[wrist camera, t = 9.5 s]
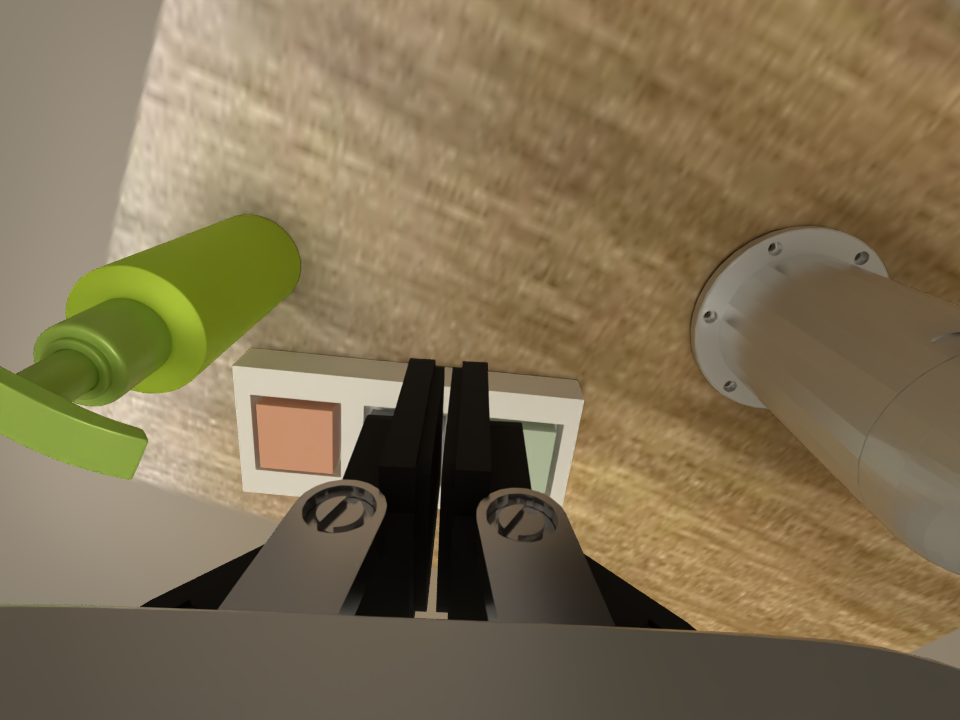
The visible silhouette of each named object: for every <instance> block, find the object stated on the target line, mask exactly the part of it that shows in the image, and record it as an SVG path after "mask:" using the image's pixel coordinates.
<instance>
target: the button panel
mask: <svg viewBox="0 0 960 720" xmlns="http://www.w3.org/2000/svg"><path fill="white" fill-rule="evenodd" d="M407 367H408V363H399V362H389V361H379V360H369V359H359V358H348V357H338V356H328V355H318V354H308V353H298V352H288V351H278V350H268V349H257V348H250V349H249V350H248V351H247V352H246V353H245V354H244V355H243V356H242V357H241V358H240V359H239V360H238V361H236V362H235V363H234V364H233V365H232V369H233V381H234V392H235V403H236V415H237V426H238V437H239V448H240V460H241V471H242V482H243V491H244V492H255V493H266V494H277V495H289V496H300V497H301V496H302V495H303V494H304V493H305V492H306V491H308V490H310V489H311V488H313V487H315V486H317V485H320V484H323V483H326V482H329V481H336V480H342V479H343V476H344V473H345V471H346V468H347V466H348V463H349V460H350V458H351V455H352V452H353V450H354V447H355V445H356V442H357V439H358V437H359V434H360V431H361V429H362V426H363V424H364V421H365V418H366V416H367V415H369V414H371V412H372V409H377V410H387V411H395V408H396V404H397V401H398V397H399V394H400V391H401V387H402V384H403V380H404V377H405V373H406V370H407ZM451 378H452V368H449V367H445V379H444V405H443V416H446V422H445V433H444V443H445V434H446V424H447V415H448V406H449V396H450V387H451ZM488 384H489V412H490V418H500V419H510V420H520V421H531V422H541V423H552V424H554V425H555V429H556V438H555V443H554V448H553V453H552V459H551V464H550V469H549V474H548V480H547V485H546V490H545V493H543V494H545V495H547V496H549V497H551V498H552V499H553V500H554V501H556V502H557V503H558V504H559V505H560V506H561V507H562V505H563V500H564V496H565V491H566V486H567V481H568V476H569V472H570V467H571V462H572V457H573V452H574V448H575V443H576V438H577V433H578V428H579V424H580V419H581V414H582V409H583V405H584V397H583V395H582V392H581V389H580V386H579V384H578V381H577V380H571V379H561V378H551V377H540V376H530V375H520V374H510V373H500V372H490V371H488ZM262 396H270V397H280V398H291V399H301V400H312V401H322V402H333V403H340V458H339V460H338V463H337V465H336V467H335V470H334V472H333V474H328V473H317V472H306V471H295V470H284V469H273V468H262V467H260V453H259V439H258V425H257V411H256V404H257V403H258V401H259V400H260V399H261V398H262ZM443 452H444V444H443ZM442 462H443V454H442ZM441 476H442V465H441ZM440 497H441V480H440V491H439V501H438V509H440Z"/></svg>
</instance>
